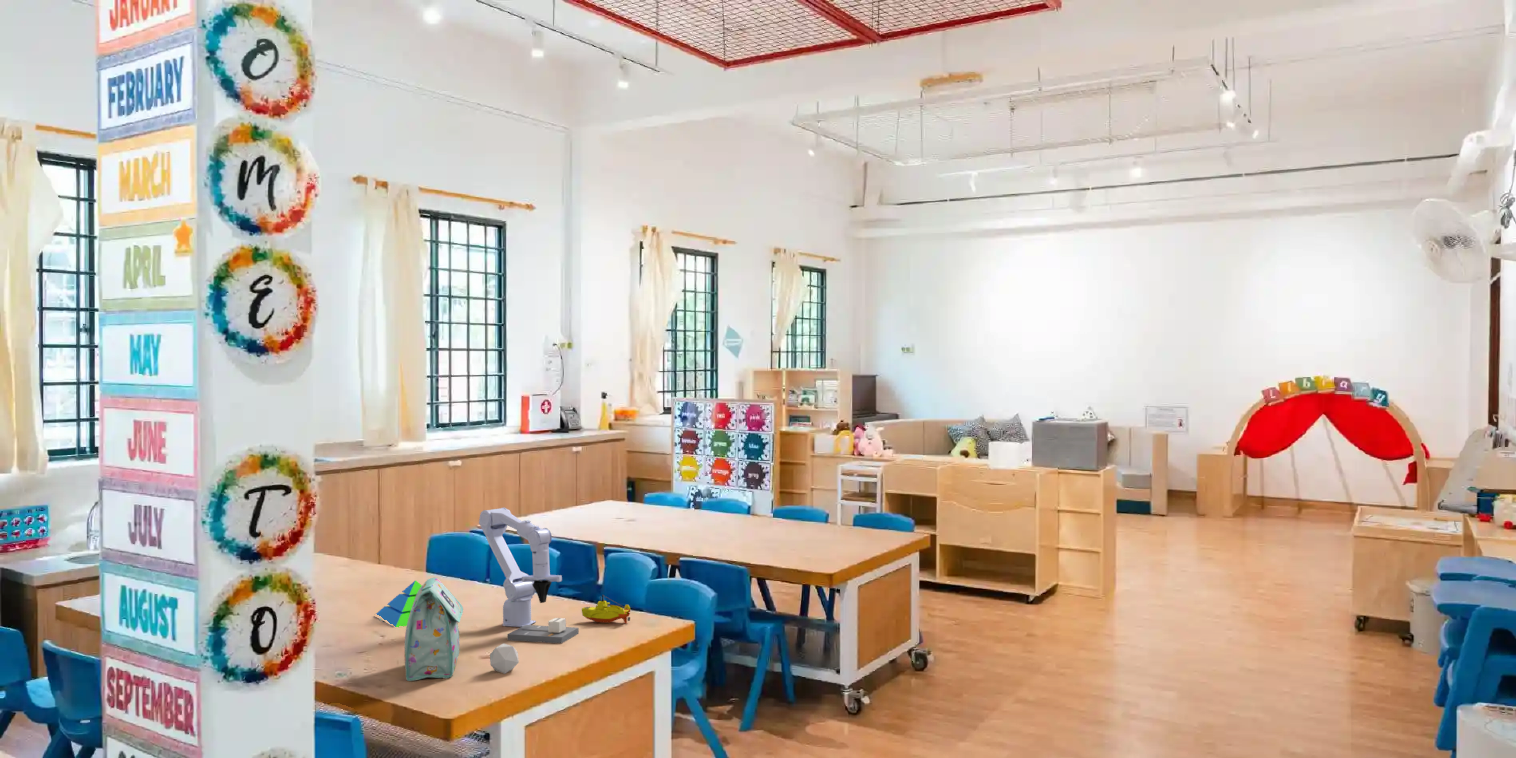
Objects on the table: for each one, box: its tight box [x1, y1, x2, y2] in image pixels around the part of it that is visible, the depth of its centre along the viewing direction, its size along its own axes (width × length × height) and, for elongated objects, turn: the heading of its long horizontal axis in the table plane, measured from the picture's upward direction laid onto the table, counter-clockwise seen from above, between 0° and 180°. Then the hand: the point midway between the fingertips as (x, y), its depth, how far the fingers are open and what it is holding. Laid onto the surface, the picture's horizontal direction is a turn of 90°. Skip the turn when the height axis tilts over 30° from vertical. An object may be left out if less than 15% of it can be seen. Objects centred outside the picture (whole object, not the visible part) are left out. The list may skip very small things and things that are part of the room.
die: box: [489, 642, 520, 675], centre depth 299 cm, size 8×9×10 cm
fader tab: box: [547, 617, 567, 633], centre depth 337 cm, size 4×5×4 cm
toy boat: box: [581, 594, 631, 624], centre depth 357 cm, size 6×18×10 cm, turn 78°
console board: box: [506, 624, 580, 644], centre depth 338 cm, size 20×13×2 cm, turn 75°
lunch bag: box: [404, 577, 464, 682], centre depth 301 cm, size 23×16×27 cm
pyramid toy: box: [375, 580, 423, 628], centre depth 370 cm, size 25×25×14 cm
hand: (542, 602), depth 349 cm, fingers closed
